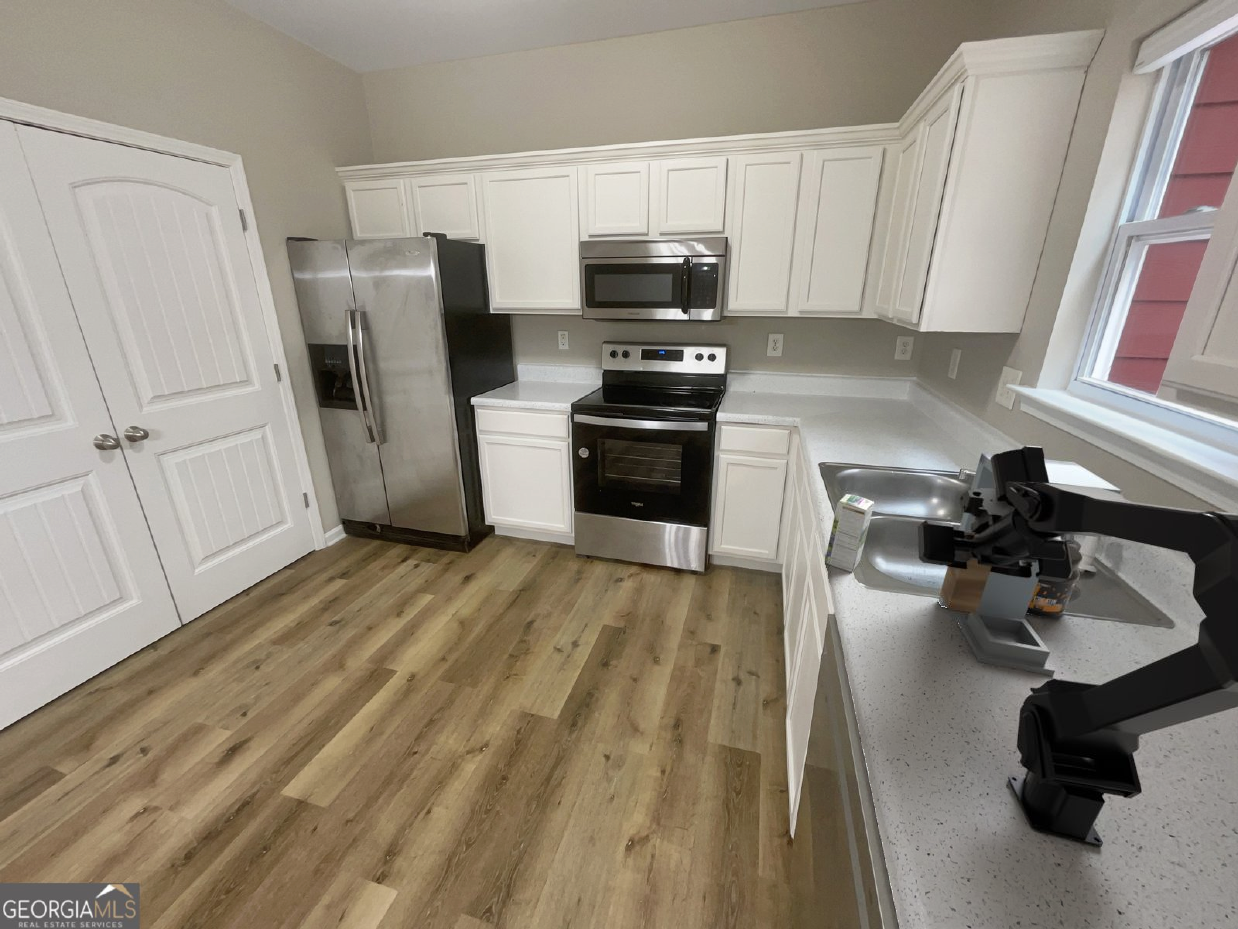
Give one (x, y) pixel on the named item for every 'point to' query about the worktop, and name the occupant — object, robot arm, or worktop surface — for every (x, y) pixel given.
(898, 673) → the worktop surface
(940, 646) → the worktop surface
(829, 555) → the syrup box
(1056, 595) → the supplement container
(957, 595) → the peg
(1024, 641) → the socket
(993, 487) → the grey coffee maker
